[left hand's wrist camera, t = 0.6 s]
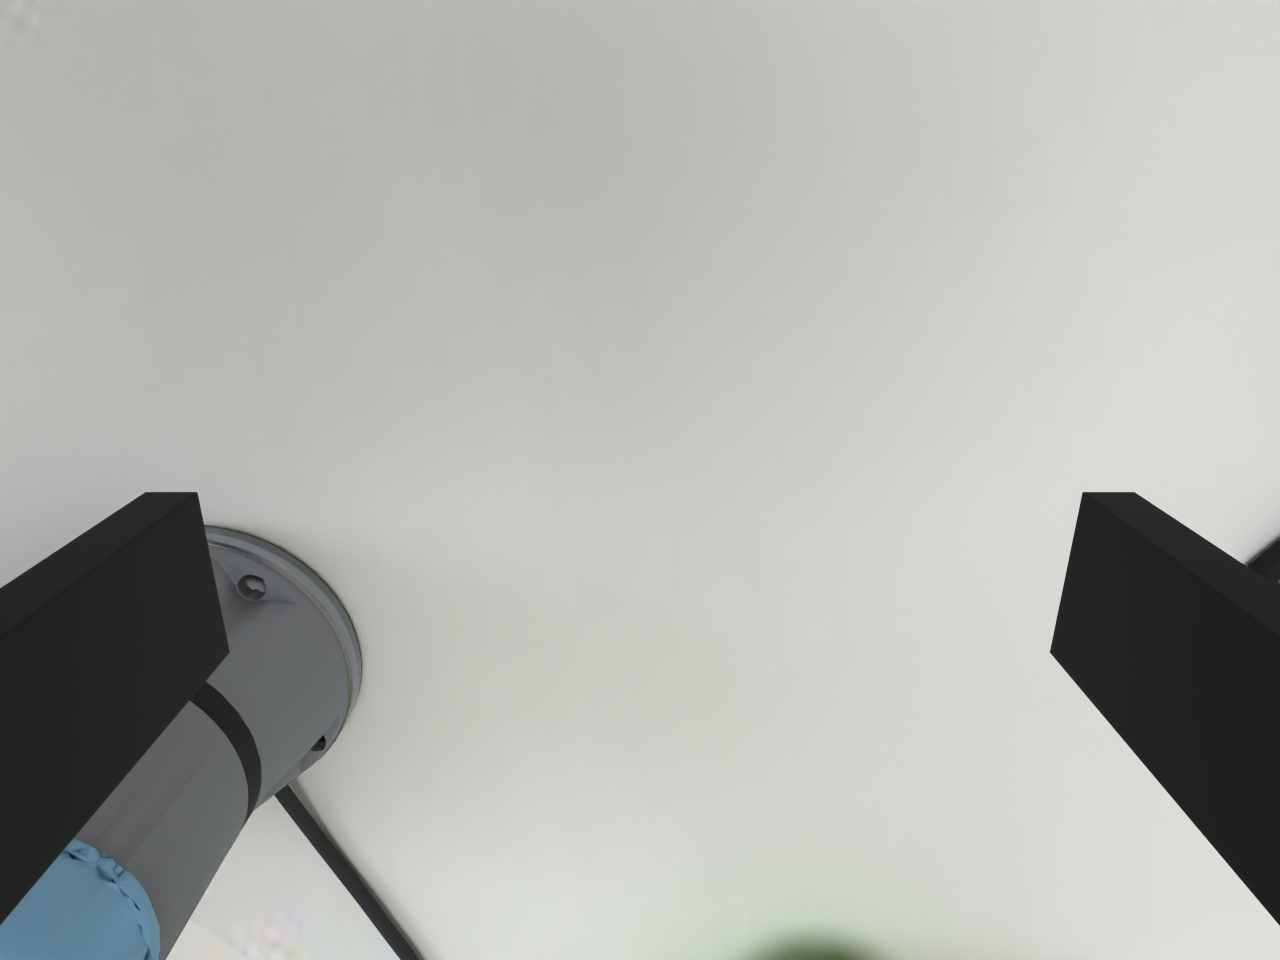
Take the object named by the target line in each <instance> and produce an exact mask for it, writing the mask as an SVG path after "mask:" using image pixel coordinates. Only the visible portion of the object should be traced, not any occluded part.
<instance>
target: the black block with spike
mask: <svg viewBox="0 0 1280 960" xmlns="http://www.w3.org/2000/svg"><path fill="white" fill-rule="evenodd" d="M1248 568H1250V569H1251V570H1253V571H1254V572H1256V573H1257V574H1259V575H1260V576H1262V577H1263V578H1265V579H1266V580H1268V581H1269V582H1271V583H1272V584H1274V585H1275V586H1277V587H1278V588H1280V541H1279V542H1277V543H1276V544H1275V545H1274V546H1272V547H1271V548H1270V549H1269V550H1267V551H1266V552H1265V553H1264V554H1262V555H1261V556H1260V557H1259V558H1257V559H1256V560H1255V561H1254V562H1252V563H1251V564H1250V565H1249V566H1248Z"/></svg>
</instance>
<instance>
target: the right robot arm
mask: <svg viewBox="0 0 1280 960" xmlns="http://www.w3.org/2000/svg"><path fill="white" fill-rule="evenodd" d="M204 528H205V533H206V537H207V542H208V547H209V552H210V557H211V562H212V567H213V572H214V577H215V582H216V586H217V591H218V596H219V601H220V606H221V611H222V616H223V621H224V626H225V630H226V635H227V640H228V645H229V650H230V653H229V654H228V655H227V657H226V658H225V659H224V660H223V661H222V662H221V664H220V665H219V666H218V667H217V668H216V670H215V671H214V672H213V673H212V674H211V676H210V677H209V678H208V679H207V680H206V682H205V683H204V684H203V685H202V686H201V687H200V689H199V690H198V691H197V692H196V693H195V695H194V696H193V697H192V698H191V699H190V701H189V702H188V703H187V704H186V705H185V706H184V708H183V709H182V710H181V711H180V712H179V714H178V715H177V716H176V717H175V718H174V720H173V721H172V722H171V723H170V724H169V725H168V727H167V728H166V729H165V730H164V731H163V733H162V734H161V735H160V736H159V737H158V739H157V740H156V741H155V742H154V743H153V745H152V746H151V747H150V748H149V749H148V750H147V752H146V753H145V754H144V755H143V756H142V758H141V759H140V760H139V761H138V762H137V764H136V765H135V766H134V767H133V768H132V769H131V771H130V772H129V773H128V774H127V775H126V777H125V778H124V779H123V780H122V781H121V783H120V784H119V785H118V786H117V787H116V788H115V790H114V791H113V792H112V793H111V794H110V796H109V797H108V798H107V799H106V800H105V802H104V803H103V804H102V805H101V806H100V807H99V809H98V810H97V811H96V812H95V813H94V815H93V816H92V817H91V818H90V819H89V821H88V822H87V823H86V824H85V825H84V827H83V828H82V829H81V830H80V831H79V832H78V834H77V835H76V836H75V837H74V838H73V840H72V841H71V842H70V843H69V844H68V846H67V847H66V848H65V849H64V850H63V851H62V853H61V854H60V855H59V856H58V857H57V859H56V860H55V861H54V862H53V863H52V865H51V866H50V867H49V868H48V869H47V870H46V872H45V873H44V874H43V875H42V876H41V878H40V879H39V880H38V881H37V882H36V884H35V885H34V886H33V887H32V888H31V890H30V891H29V892H28V893H27V894H26V895H25V897H24V898H23V899H22V900H21V901H20V903H19V904H18V905H17V906H16V907H15V909H14V910H13V911H12V912H11V913H10V914H9V916H8V917H7V918H6V919H5V920H4V922H3V923H2V924H1V925H0V960H166V958H167V956H168V954H169V953H170V951H171V949H172V948H173V946H174V944H175V942H176V941H177V939H178V937H179V936H180V934H181V932H182V930H183V929H184V927H185V925H186V923H187V922H188V920H189V918H190V917H191V915H192V913H193V911H194V910H195V908H196V906H197V905H198V903H199V901H200V899H201V898H202V896H203V894H204V892H205V891H206V889H207V887H208V886H209V884H210V882H211V880H212V879H213V877H214V875H215V874H216V872H217V870H218V868H219V867H220V865H221V863H222V862H223V860H224V858H225V856H226V855H227V853H228V852H229V850H230V848H231V847H232V845H233V843H234V842H235V840H236V838H237V837H238V835H239V833H240V831H241V830H242V828H243V826H244V825H245V823H246V821H247V820H248V818H249V817H250V815H251V814H252V812H253V811H254V810H255V809H256V808H258V807H259V806H260V805H261V804H263V803H264V802H265V801H267V800H268V799H269V798H270V797H272V796H273V795H275V797H276V798H277V799H278V801H279V802H280V803H281V805H282V806H283V807H284V809H285V810H286V811H287V813H288V814H289V815H290V817H291V818H292V819H293V820H294V822H295V823H296V824H297V826H298V827H299V828H300V830H301V831H302V832H303V833H304V835H305V836H306V837H307V839H308V840H309V841H310V842H311V844H312V845H313V846H314V848H315V849H316V850H317V851H318V853H319V854H320V855H321V857H322V858H323V859H324V860H325V862H326V863H327V864H328V866H329V867H330V868H331V869H332V871H333V872H334V873H335V874H336V876H337V877H338V878H339V880H340V881H341V882H342V883H343V885H344V886H345V887H346V888H347V890H348V891H349V892H350V894H351V895H352V896H353V898H354V899H355V900H356V901H357V903H358V904H359V905H360V907H361V908H362V909H363V911H364V912H365V913H366V915H367V916H368V917H369V919H370V920H371V921H372V923H373V924H374V925H375V927H376V928H377V929H378V931H379V932H380V933H381V935H382V936H383V937H384V939H385V940H386V941H387V943H388V944H389V945H390V946H391V948H392V949H393V950H394V952H395V953H396V954H397V955H398V957H399V958H400V959H401V960H419V958H418V957H417V955H416V954H415V953H414V951H413V950H412V949H411V947H410V946H409V945H408V943H407V942H406V941H405V939H404V938H403V937H402V935H401V934H400V933H399V931H398V930H397V929H396V928H395V926H394V925H393V924H392V922H391V921H390V919H389V918H388V917H387V915H386V914H385V913H384V911H383V910H382V909H381V907H380V906H379V904H378V903H377V902H376V900H375V899H374V898H373V896H372V895H371V894H370V892H369V891H368V890H367V888H366V887H365V886H364V885H363V883H362V882H361V881H360V879H359V878H358V877H357V875H356V874H355V873H354V872H353V870H352V869H351V868H350V866H349V865H348V864H347V862H346V861H345V860H344V859H343V857H342V856H341V855H340V853H339V852H338V851H337V850H336V848H335V847H334V846H333V844H332V843H331V842H330V840H329V839H328V838H327V836H326V835H325V834H324V832H323V831H322V830H321V829H320V827H319V826H318V825H317V823H316V822H315V821H314V819H313V818H312V817H311V815H310V814H309V813H308V811H307V810H306V809H305V807H304V806H303V805H302V803H301V802H300V801H299V799H298V798H297V797H296V795H295V794H294V792H293V791H292V790H291V788H290V787H289V786H288V783H290V782H291V781H292V780H294V779H295V778H296V777H297V776H299V775H300V774H301V773H302V772H304V771H305V770H306V769H308V768H309V767H310V766H311V765H313V764H314V763H315V762H316V761H317V760H319V759H320V758H321V757H322V756H323V755H324V754H325V753H326V752H327V751H328V750H329V748H330V747H331V746H332V744H333V743H334V742H335V740H336V739H337V737H338V735H339V734H340V732H341V730H342V728H343V726H344V724H345V723H346V721H347V719H348V717H349V715H350V713H351V711H352V709H353V707H354V704H355V702H356V699H357V696H358V692H359V688H360V682H361V656H360V650H359V645H358V641H357V638H356V634H355V631H354V629H353V627H352V624H351V622H350V620H349V618H348V616H347V614H346V612H345V610H344V608H343V607H342V605H341V604H340V602H339V601H338V599H337V598H336V597H335V595H334V594H333V593H332V592H331V590H330V589H329V588H328V587H327V586H326V585H325V584H324V583H323V582H322V580H321V579H320V578H319V577H318V576H317V575H315V574H314V573H313V572H312V571H311V570H310V569H309V568H307V567H306V566H305V565H304V564H302V563H301V562H299V561H298V560H297V559H295V558H294V557H292V556H291V555H289V554H287V553H286V552H284V551H283V550H281V549H279V548H277V547H275V546H273V545H271V544H269V543H267V542H264V541H262V540H259V539H257V538H255V537H252V536H248V535H245V534H242V533H239V532H235V531H230V530H226V529H220V528H212V527H204Z"/></svg>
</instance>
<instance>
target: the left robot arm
mask: <svg viewBox="0 0 1280 960" xmlns="http://www.w3.org/2000/svg"><path fill="white" fill-rule="evenodd" d="M229 653H230V650H229V645H228V640H227V635H226V630H225V626H224V621H223V616H222V611H221V606H220V601H219V596H218V591H217V586H216V582H215V577H214V572H213V567H212V562H211V557H210V552H209V547H208V542H207V537H206V533H205V528H204V523H203V518H202V513H201V508H200V503H199V498H198V493H197V492H145V493H144V494H142V495H141V496H139V497H138V498H136V499H135V500H133V501H132V502H130V503H129V504H127V505H126V506H124V507H123V508H121V509H120V510H118V511H117V512H115V513H114V514H112V515H111V516H109V517H108V518H106V519H105V520H103V521H101V522H100V523H98V524H97V525H95V526H94V527H92V528H91V529H89V530H88V531H86V532H85V533H83V534H82V535H80V536H79V537H77V538H76V539H74V540H73V541H71V542H70V543H68V544H67V545H65V546H64V547H62V548H61V549H59V550H58V551H56V552H55V553H53V554H52V555H50V556H49V557H47V558H46V559H44V560H43V561H41V562H40V563H38V564H37V565H35V566H34V567H32V568H30V569H29V570H27V571H26V572H24V573H23V574H21V575H20V576H18V577H17V578H15V579H14V580H12V581H11V582H9V583H8V584H6V585H5V586H3V587H2V588H0V925H1V924H2V923H3V922H4V920H5V919H6V918H7V917H8V916H9V914H10V913H11V912H12V911H13V910H14V909H15V907H16V906H17V905H18V904H19V903H20V901H21V900H22V899H23V898H24V897H25V895H26V894H27V893H28V892H29V891H30V890H31V888H32V887H33V886H34V885H35V884H36V882H37V881H38V880H39V879H40V878H41V876H42V875H43V874H44V873H45V872H46V870H47V869H48V868H49V867H50V866H51V865H52V863H53V862H54V861H55V860H56V859H57V857H58V856H59V855H60V854H61V853H62V851H63V850H64V849H65V848H66V847H67V846H68V844H69V843H70V842H71V841H72V840H73V838H74V837H75V836H76V835H77V834H78V832H79V831H80V830H81V829H82V828H83V827H84V825H85V824H86V823H87V822H88V821H89V819H90V818H91V817H92V816H93V815H94V813H95V812H96V811H97V810H98V809H99V807H100V806H101V805H102V804H103V803H104V802H105V800H106V799H107V798H108V797H109V796H110V794H111V793H112V792H113V791H114V790H115V788H116V787H117V786H118V785H119V784H120V783H121V781H122V780H123V779H124V778H125V777H126V775H127V774H128V773H129V772H130V771H131V769H132V768H133V767H134V766H135V765H136V764H137V762H138V761H139V760H140V759H141V758H142V756H143V755H144V754H145V753H146V752H147V750H148V749H149V748H150V747H151V746H152V745H153V743H154V742H155V741H156V740H157V739H158V737H159V736H160V735H161V734H162V733H163V731H164V730H165V729H166V728H167V727H168V725H169V724H170V723H171V722H172V721H173V720H174V718H175V717H176V716H177V715H178V714H179V712H180V711H181V710H182V709H183V708H184V706H185V705H186V704H187V703H188V702H189V701H190V699H191V698H192V697H193V696H194V695H195V693H196V692H197V691H198V690H199V689H200V687H201V686H202V685H203V684H204V683H205V682H206V680H207V679H208V678H209V677H210V676H211V674H212V673H213V672H214V671H215V670H216V668H217V667H218V666H219V665H220V664H221V662H222V661H223V660H224V659H225V658H226V657H227V655H228V654H229ZM1050 653H1051V654H1052V655H1053V657H1054V658H1055V659H1056V660H1057V661H1058V662H1059V664H1060V665H1061V666H1062V667H1063V668H1064V670H1065V671H1066V672H1067V673H1068V674H1069V676H1070V677H1071V678H1072V679H1073V680H1074V682H1075V683H1076V684H1077V685H1078V686H1079V687H1080V689H1081V690H1082V691H1083V692H1084V693H1085V695H1086V696H1087V697H1088V698H1089V699H1090V701H1091V702H1092V703H1093V704H1094V705H1095V706H1096V708H1097V709H1098V710H1099V711H1100V712H1101V714H1102V715H1103V716H1104V717H1105V718H1106V720H1107V721H1108V722H1109V723H1110V724H1111V725H1112V727H1113V728H1114V729H1115V730H1116V731H1117V733H1118V734H1119V735H1120V736H1121V737H1122V739H1123V740H1124V741H1125V742H1126V743H1127V745H1128V746H1129V747H1130V748H1131V749H1132V750H1133V752H1134V753H1135V754H1136V755H1137V756H1138V758H1139V759H1140V760H1141V761H1142V762H1143V764H1144V765H1145V766H1146V767H1147V768H1148V769H1149V771H1150V772H1151V773H1152V774H1153V775H1154V777H1155V778H1156V779H1157V780H1158V781H1159V783H1160V784H1161V785H1162V786H1163V787H1164V788H1165V790H1166V791H1167V792H1168V793H1169V794H1170V796H1171V797H1172V798H1173V799H1174V800H1175V802H1176V803H1177V804H1178V805H1179V806H1180V808H1181V809H1182V810H1183V811H1184V812H1185V813H1186V815H1187V816H1188V817H1189V818H1190V819H1191V821H1192V822H1193V823H1194V824H1195V825H1196V827H1197V828H1198V829H1199V830H1200V831H1201V832H1202V834H1203V835H1204V836H1205V837H1206V838H1207V840H1208V841H1209V842H1210V843H1211V844H1212V846H1213V847H1214V848H1215V849H1216V850H1217V851H1218V853H1219V854H1220V855H1221V856H1222V857H1223V859H1224V860H1225V861H1226V862H1227V863H1228V865H1229V866H1230V867H1231V868H1232V869H1233V870H1234V872H1235V873H1236V874H1237V875H1238V876H1239V878H1240V879H1241V880H1242V881H1243V882H1244V884H1245V885H1246V886H1247V887H1248V888H1249V890H1250V891H1251V892H1252V893H1253V894H1254V895H1255V897H1256V898H1257V899H1258V900H1259V901H1260V903H1261V904H1262V905H1263V906H1264V907H1265V909H1266V910H1267V911H1268V912H1269V913H1270V914H1271V916H1272V917H1273V918H1274V919H1275V920H1276V922H1277V923H1278V924H1279V925H1280V588H1278V587H1277V586H1275V585H1274V584H1272V583H1271V582H1269V581H1268V580H1266V579H1265V578H1263V577H1262V576H1260V575H1259V574H1257V573H1256V572H1254V571H1253V570H1251V569H1250V568H1248V567H1246V566H1245V565H1243V564H1242V563H1240V562H1239V561H1237V560H1236V559H1234V558H1233V557H1231V556H1230V555H1228V554H1227V553H1225V552H1224V551H1222V550H1221V549H1219V548H1218V547H1216V546H1215V545H1213V544H1212V543H1210V542H1209V541H1207V540H1206V539H1204V538H1203V537H1201V536H1200V535H1198V534H1197V533H1195V532H1194V531H1192V530H1191V529H1189V528H1188V527H1186V526H1185V525H1183V524H1182V523H1180V522H1179V521H1177V520H1175V519H1174V518H1172V517H1171V516H1169V515H1168V514H1166V513H1165V512H1163V511H1162V510H1160V509H1159V508H1157V507H1156V506H1154V505H1153V504H1151V503H1150V502H1148V501H1147V500H1145V499H1144V498H1142V497H1141V496H1139V495H1138V494H1136V493H1135V492H1083V493H1082V498H1081V503H1080V508H1079V513H1078V518H1077V523H1076V528H1075V533H1074V537H1073V542H1072V547H1071V552H1070V557H1069V562H1068V567H1067V572H1066V577H1065V582H1064V586H1063V591H1062V596H1061V601H1060V606H1059V611H1058V616H1057V621H1056V626H1055V630H1054V635H1053V640H1052V645H1051V650H1050Z"/></svg>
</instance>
